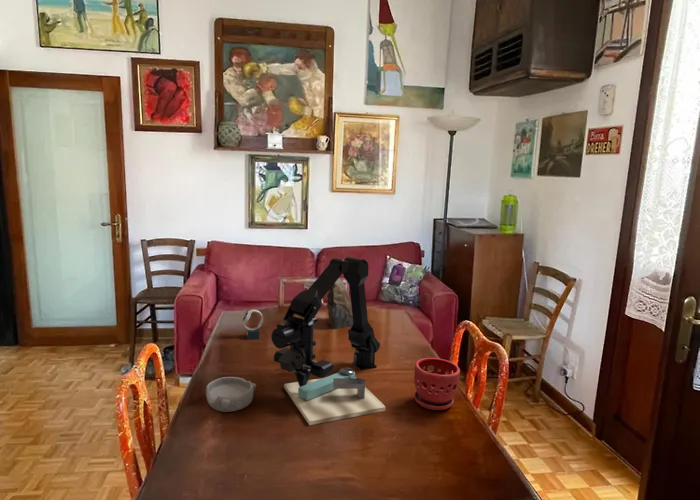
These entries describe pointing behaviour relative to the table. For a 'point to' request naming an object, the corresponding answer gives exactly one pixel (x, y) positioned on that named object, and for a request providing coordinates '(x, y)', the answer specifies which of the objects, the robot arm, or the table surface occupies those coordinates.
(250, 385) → the dish
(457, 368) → the plant pot
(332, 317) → the grey tall stone
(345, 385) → the pintle and keeper
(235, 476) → the table surface
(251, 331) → the watch
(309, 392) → the link
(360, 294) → the robot arm
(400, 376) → the table surface
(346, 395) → the base board
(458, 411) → the table surface
